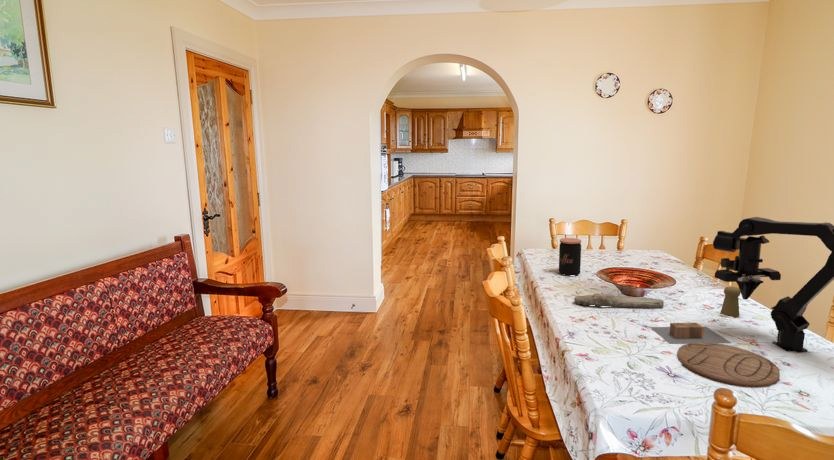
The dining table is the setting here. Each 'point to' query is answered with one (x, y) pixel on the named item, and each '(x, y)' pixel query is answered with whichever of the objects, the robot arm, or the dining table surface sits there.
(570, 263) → the coffee jar
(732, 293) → the cork
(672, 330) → the walnut block
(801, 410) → the dining table surface
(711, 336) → the rubber mat
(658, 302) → the long grey stone
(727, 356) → the trivet
